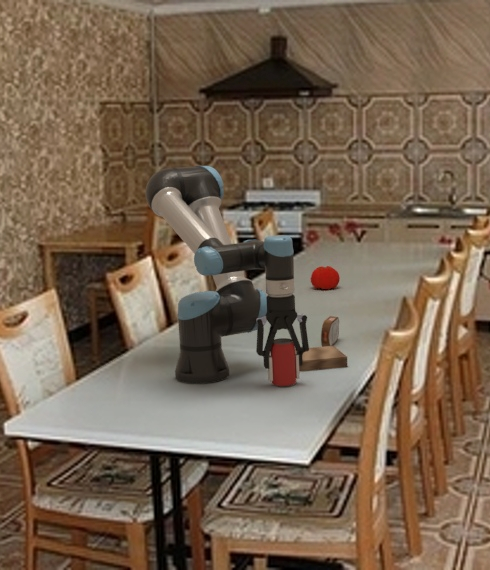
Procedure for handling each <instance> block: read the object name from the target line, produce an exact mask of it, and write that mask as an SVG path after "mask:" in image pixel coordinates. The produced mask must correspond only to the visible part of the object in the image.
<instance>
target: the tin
mask: <svg viewBox="0 0 490 570" xmlns="http://www.w3.org/2000/svg"><path fill="white" fill-rule="evenodd" d="M320 332H321V333H320V343H321V347H325V346H334V344H336V343H337V342H338V340H339V333H340V319H339V317H338V316H333V315H329V316H327V318H325V320H324V321H323V322H322V327H321V331H320Z"/></svg>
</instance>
